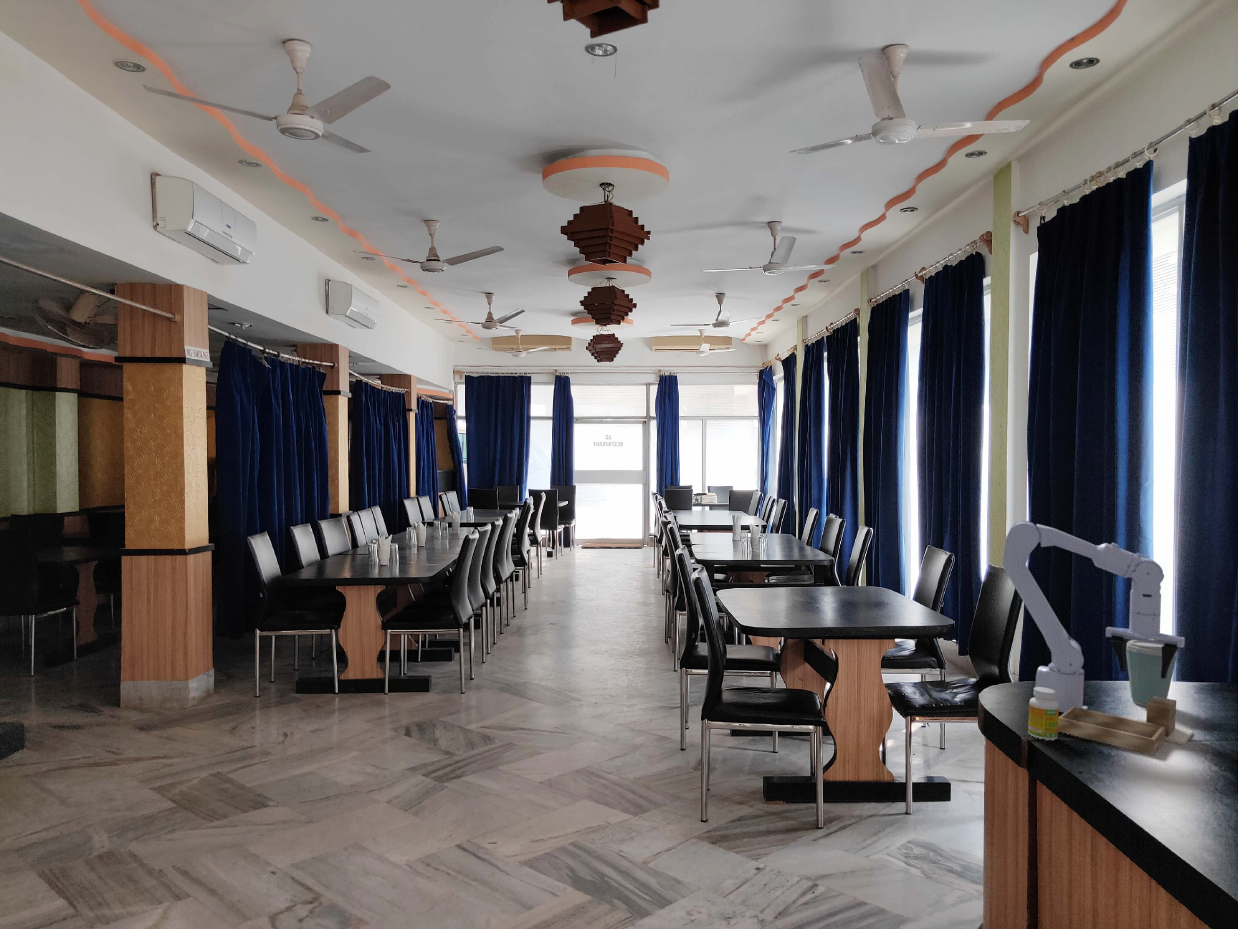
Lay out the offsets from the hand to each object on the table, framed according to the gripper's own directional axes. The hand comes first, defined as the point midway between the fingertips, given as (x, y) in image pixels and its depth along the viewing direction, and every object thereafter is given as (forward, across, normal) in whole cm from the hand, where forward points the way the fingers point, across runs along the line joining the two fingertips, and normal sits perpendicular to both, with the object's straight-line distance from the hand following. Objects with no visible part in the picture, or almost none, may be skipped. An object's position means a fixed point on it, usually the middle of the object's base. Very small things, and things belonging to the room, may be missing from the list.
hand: (1143, 674), depth 179 cm
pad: (+10, +4, -6) cm, 13 cm away
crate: (+10, -2, -17) cm, 20 cm away
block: (+10, +4, -6) cm, 13 cm away
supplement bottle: (+10, -12, -28) cm, 33 cm away
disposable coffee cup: (+11, -2, +16) cm, 19 cm away
